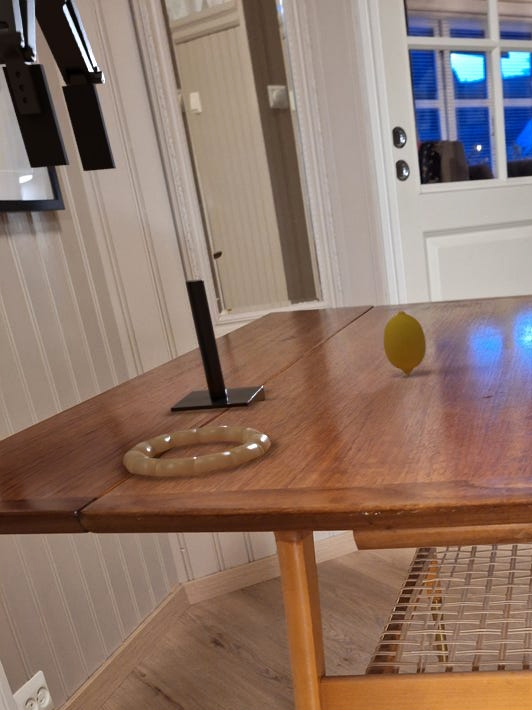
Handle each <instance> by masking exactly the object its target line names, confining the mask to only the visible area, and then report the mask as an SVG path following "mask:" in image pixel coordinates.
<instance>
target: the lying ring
mask: <svg viewBox="0 0 532 710" xmlns="http://www.w3.org/2000/svg"><path fill="white" fill-rule="evenodd" d="M222 441H224V442H233V443H240V444H241V445H239V446H235V447H233V448H231V449H228V450H225V451H220V452H215V453H211V454H205V455H201V456H194V457H183V458H181V457H180V458H169V459H162V458H154V456H155V455H157V454H160V453H162V452H165V451H168V450H171V449H173V448H178V447H181V446H187V445H191V444H192V445H193V444H197V443H207V442H222ZM271 445H272V442H271V440H270V438H269V437H268V436H267V435H266V434H264V433H262V432H260V431H259V430H257V429H256V428H253V427H245V426H234V425H220V426H219V425H218V426H205V427H195V428H190V429H184V430H178V431H173V432H168V433H164V434H161V435H158V436H155V437H152V438H149V439H146V440H144V441H141V442H139V443H137V444H136V445H134V446H133V448H131V449H129V451H127V452H126V453H125V455H123V458H122V464H123V466H124V467H125V468H126V470H127V471H128V472H129V473H131V474H135V475H143V476H150V477H151V476H152V477H172V476H187V475H199V474H203V473H209V472H212V471H217V470H222V469H227V468H233V467H236V466H240V465H241V464H242V465H243V464H244V463H246V462H249V461H251V460H254V459H257V458H259V457H260V456H263V455H265V454H266V453H267V451H268V449H269V448H270V447H271Z"/></svg>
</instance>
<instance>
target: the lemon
mask: <svg viewBox="0 0 532 710" xmlns="http://www.w3.org/2000/svg"><path fill="white" fill-rule="evenodd" d="M383 330H384V331H383V350H384V353H385V356H386V358H387V360H388V361H389V363H390V364H391V365H392V366H393V367H394V368H396V369H399V370H401V371H402V372H403V373H404V374H405V375H410V374H411V373H412V372H413V370H414V369H415V368H417V367H418V366H419V365H421V363H422V362H423V360H424V358H425V355H426V350H427V349H426V348H427V343H426V336H425V332H424V329H423V327H422V324H421V323H420V322H419V320H418V319H417V318H415V317H414V316H413V315H410V314H409V313H406V312H405V311H404V310H401V311H398V312H397V313H396V314H395V315H394V316H392V317H391V318H389V320H388V321H387V322H386V325H385V327H384V329H383Z"/></svg>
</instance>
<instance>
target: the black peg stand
mask: <svg viewBox="0 0 532 710" xmlns="http://www.w3.org/2000/svg"><path fill="white" fill-rule="evenodd" d="M185 287H186V291H187V292H186V293H187V296H188V301H189V306H190V311H191V315H192V319H193V324H194V325H193V326H194V329H195V334H196V338H197V343H198V347H199V352H200V358H201V362H202V367H203V372H204V376H205V381H206V385H207V389H203V390H191V391H190V392H189V393H187V394H186V395H185V396H184V397H183V398H182V399H180V400H179V401H178V402H176V403H175V404H174V405H173V406H171V407H170V412H171V413H175V412H176V413H177V412H187V411H188V412H189V411H203V410H215V409H216V410H217V409H218V410H219V409H229V408H230V409H231V408H245V407H246V408H247V407H249V406H250V405H251V404H253V403H256V402H257V403H258V402H263V401H264V400H265V399H266V394H265V389H264V386H263V385H259V386H246V387H245V386H243V387H231V388H226V383H225V378H224V374H223V369H222V364H221V359H220V354H219V349H218V344H217V339H216V335H215V330H214V324H213V320H212V315H211V310H210V306H209V305H210V304H209V300H208V295H207V291H206V285H205V281H204V279H199V278H198V279H189V280H186V281H185Z"/></svg>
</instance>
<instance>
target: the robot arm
mask: <svg viewBox="0 0 532 710" xmlns="http://www.w3.org/2000/svg"><path fill="white" fill-rule="evenodd" d="M36 21H37V24H38V26H39V28H40V30H41V32H42V35H43V37H44V39H45V41H46V43H47V46H48V48H49V50H50V53H51V55H52V57H53V59H54V61H55V64H56V66H57V68H58V71H59V72H60V76H61V77H62V81H63V82H64V84H65V85H61V89H62V95H63V98H64V102H65V105H66V109H67V113H68V116H69V117H68V118H69V121H70V124H71V128H72V132H73V136H74V139H75V144H76V147H77V151H78V155H79V160H80V163H81V165H82V166H81V167H82V170H83V172H91V171H101V170H103V171H104V170H114V169H115V170H116V169H117V167H116V163H115V159H114V155H113V150H112V146H111V142H110V138H109V134H108V130H107V126H106V121H105V118H104V113H103V109H102V105H101V102H100V98H99V93H98V88H97V85H103V84H104V85H105V81H106V80H105V76H104V72H103V70H100V68H99V66H98V64H97V61H96V58H95V55H94V52H93V50H92V47H91V44H90V41H89V38H88V35H87V31H86V28H85V26H84V23H83V20H82V18H81V14H80V11H79V9H78V6H77V3H76V0H0V65H5V66H1V69H2V71H3V75H4V79H5V82H6V86H7V89H8V93H9V97H10V100H11V104H12V107H13V111H14V114H15V117H16V121H17V125H18V128H19V132H20V134H21V139H22V142H23V146H24V149H25V153H26V156H27V159H28V163H29V167H30V168H31V169H40V168H49V167H61V166H70V161H69V157H68V153H67V148H66V145H65V142H64V137H63V134H62V131H61V127H60V123H59V119H58V115H57V112H56V107H55V105H54V101H53V97H52V93H51V90H50V86H49V85H50V84H49V82H48V79H47V74H46V70H45V67H44V64H41V63H35V62H36V61H37V56H36V55H37V49H36V48H37V46H36V44H37V43H36Z"/></svg>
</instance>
